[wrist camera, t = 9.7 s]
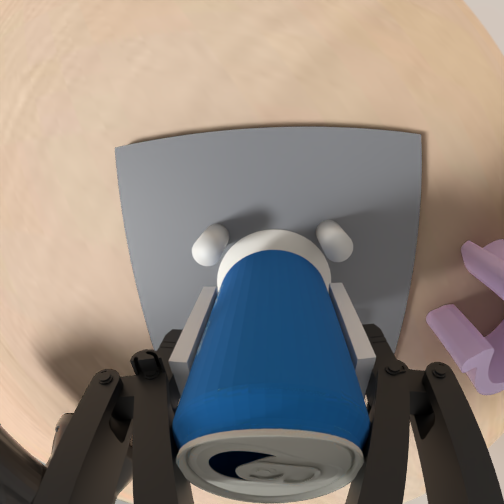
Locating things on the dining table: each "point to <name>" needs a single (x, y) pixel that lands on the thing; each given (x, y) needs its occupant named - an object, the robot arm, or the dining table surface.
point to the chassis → (272, 214)
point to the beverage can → (271, 389)
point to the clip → (464, 332)
